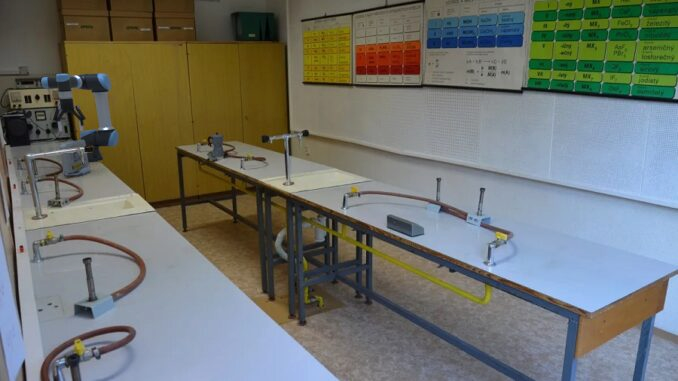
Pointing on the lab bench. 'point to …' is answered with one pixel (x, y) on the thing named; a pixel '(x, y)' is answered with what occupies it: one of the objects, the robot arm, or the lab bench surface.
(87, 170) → the bracket
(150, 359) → the lab bench surface
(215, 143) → the coffeepot
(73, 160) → the network device
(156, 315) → the lab bench surface
